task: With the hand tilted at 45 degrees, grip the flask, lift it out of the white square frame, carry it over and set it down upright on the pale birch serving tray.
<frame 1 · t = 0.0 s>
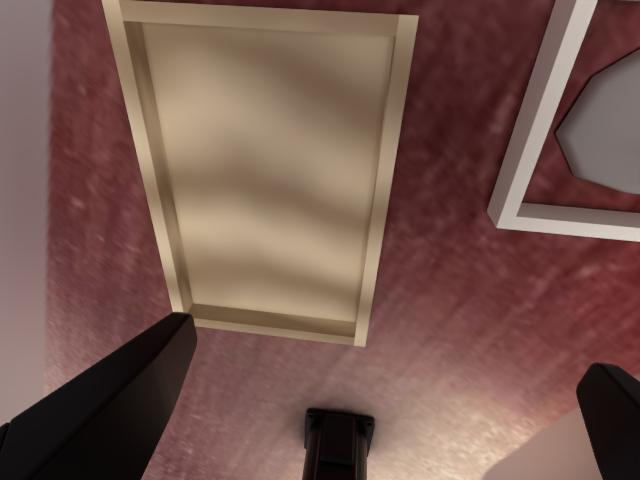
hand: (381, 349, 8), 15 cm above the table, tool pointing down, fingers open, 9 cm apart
white square frame: (636, 121, 18), on the table
serving tray: (273, 194, 23), on the table
flask: (633, 119, 18), resting in white square frame
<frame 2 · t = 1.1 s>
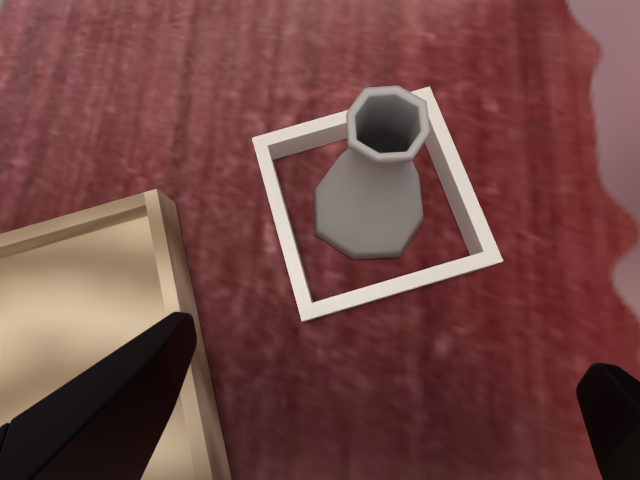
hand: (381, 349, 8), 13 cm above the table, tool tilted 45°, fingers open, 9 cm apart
white square frame: (367, 206, 23), on the table
serving tray: (92, 388, 21), on the table
flask: (367, 208, 23), resting in white square frame
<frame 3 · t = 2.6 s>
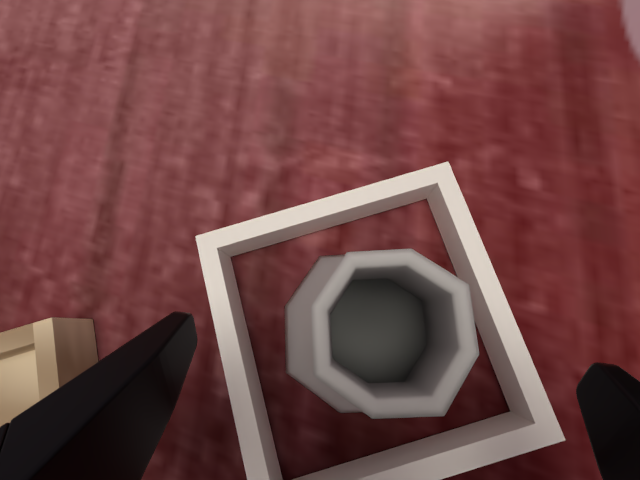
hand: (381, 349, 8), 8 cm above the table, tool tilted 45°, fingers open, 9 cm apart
white square frame: (360, 328, 16), on the table
flask: (360, 328, 17), resting in white square frame
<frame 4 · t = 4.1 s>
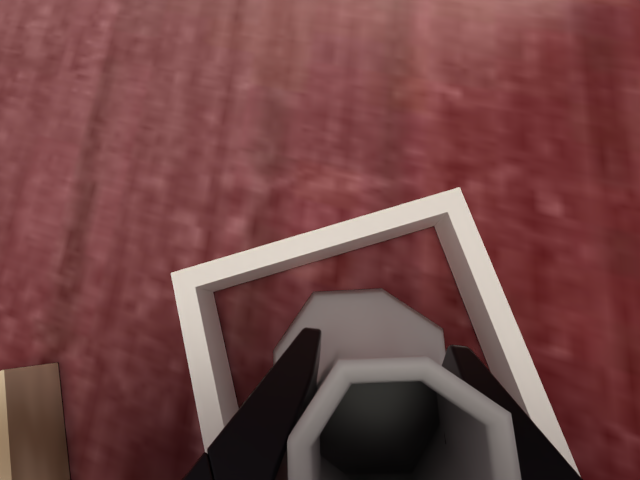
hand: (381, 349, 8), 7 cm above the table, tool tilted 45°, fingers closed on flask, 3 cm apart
white square frame: (359, 376, 14), on the table
flask: (359, 375, 15), resting in white square frame, touching gripper
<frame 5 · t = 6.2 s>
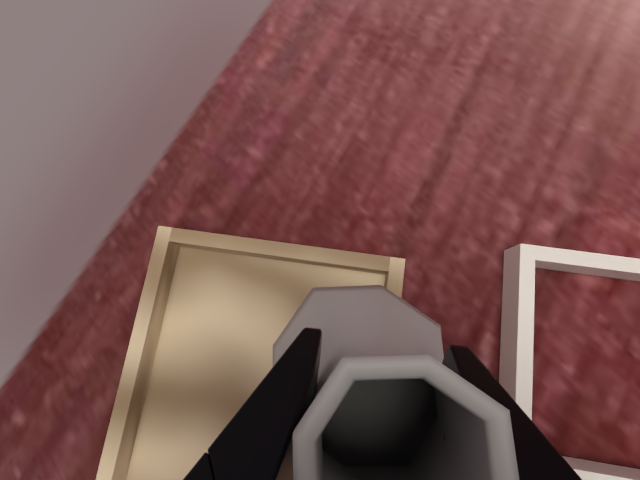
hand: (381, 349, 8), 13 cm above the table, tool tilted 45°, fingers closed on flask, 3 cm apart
white square frame: (607, 365, 20), on the table
serving tray: (255, 422, 20), on the table
flask: (357, 370, 15), point 6 cm above the table, touching gripper
when the fingers open (8 cm above the table, at t = 8.4 s): flask stays where it is, resting on serving tray.
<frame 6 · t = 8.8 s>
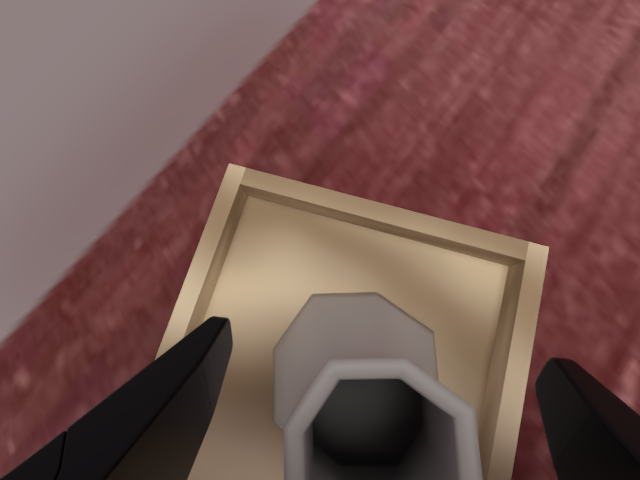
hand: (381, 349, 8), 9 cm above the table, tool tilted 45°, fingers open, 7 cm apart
serving tray: (317, 430, 16), on the table
flask: (353, 374, 15), point 1 cm above the table, touching serving tray
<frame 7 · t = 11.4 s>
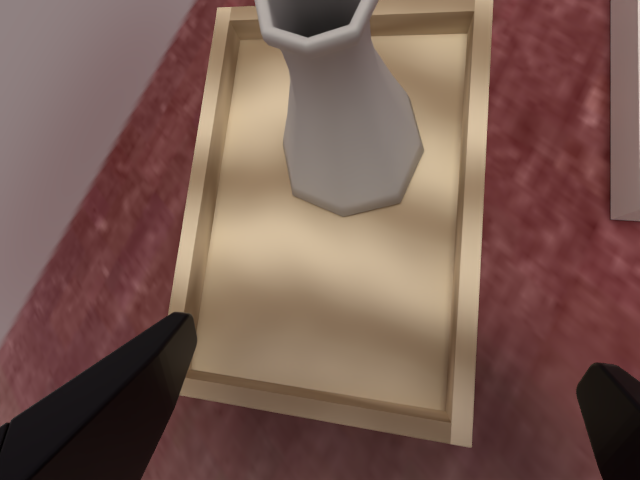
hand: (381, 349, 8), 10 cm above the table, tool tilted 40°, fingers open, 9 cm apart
serving tray: (332, 205, 19), on the table
flask: (351, 150, 19), point 1 cm above the table, touching serving tray
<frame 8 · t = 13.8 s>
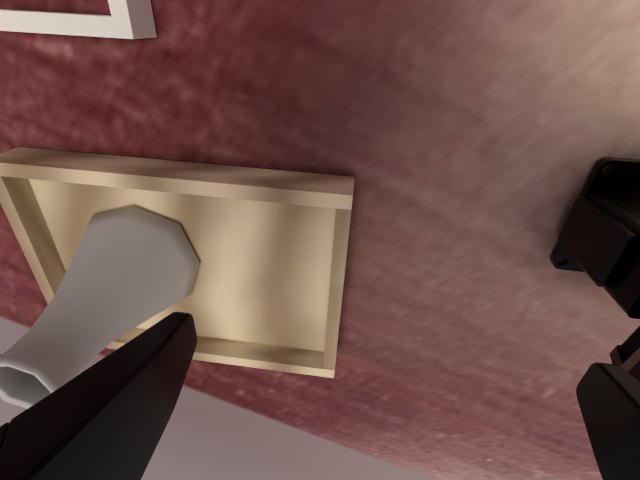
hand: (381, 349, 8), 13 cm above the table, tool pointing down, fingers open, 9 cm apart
serving tray: (197, 260, 24), on the table
flask: (148, 252, 23), point 1 cm above the table, touching serving tray
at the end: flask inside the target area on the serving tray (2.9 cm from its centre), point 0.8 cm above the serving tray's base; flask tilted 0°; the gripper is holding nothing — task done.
